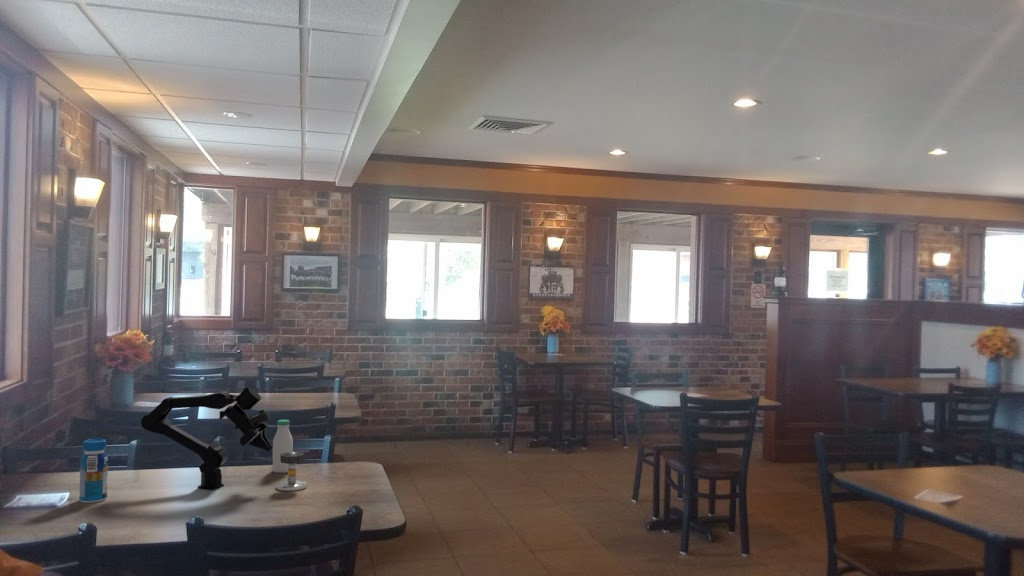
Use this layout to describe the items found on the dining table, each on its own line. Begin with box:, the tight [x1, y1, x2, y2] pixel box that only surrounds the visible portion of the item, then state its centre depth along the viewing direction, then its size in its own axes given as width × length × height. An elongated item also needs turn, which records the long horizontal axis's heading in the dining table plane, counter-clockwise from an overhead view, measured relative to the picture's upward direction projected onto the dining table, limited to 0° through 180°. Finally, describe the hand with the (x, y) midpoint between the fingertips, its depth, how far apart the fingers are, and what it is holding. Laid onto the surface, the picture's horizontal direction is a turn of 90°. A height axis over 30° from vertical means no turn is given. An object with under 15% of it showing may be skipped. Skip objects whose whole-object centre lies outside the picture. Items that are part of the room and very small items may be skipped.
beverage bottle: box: [78, 438, 109, 504], centre depth 249 cm, size 8×8×20 cm
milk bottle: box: [271, 419, 294, 474], centre depth 293 cm, size 8×8×20 cm
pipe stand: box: [275, 451, 308, 492], centre depth 270 cm, size 11×11×12 cm
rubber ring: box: [280, 451, 305, 464], centre depth 270 cm, size 8×8×2 cm
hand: (270, 449), depth 270 cm, fingers closed
